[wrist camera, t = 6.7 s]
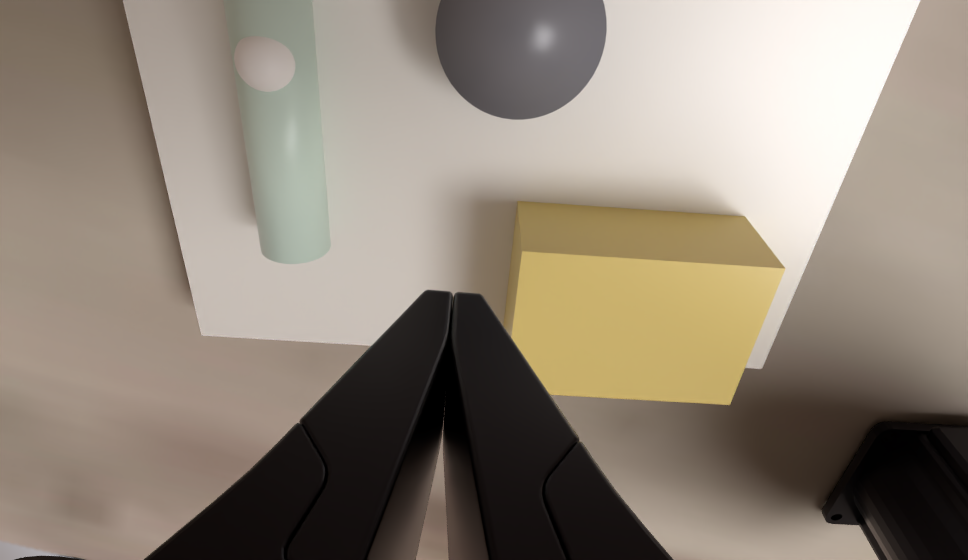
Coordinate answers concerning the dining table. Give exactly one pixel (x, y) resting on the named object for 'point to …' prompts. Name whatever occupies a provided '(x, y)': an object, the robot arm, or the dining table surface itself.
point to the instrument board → (514, 168)
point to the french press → (46, 558)
